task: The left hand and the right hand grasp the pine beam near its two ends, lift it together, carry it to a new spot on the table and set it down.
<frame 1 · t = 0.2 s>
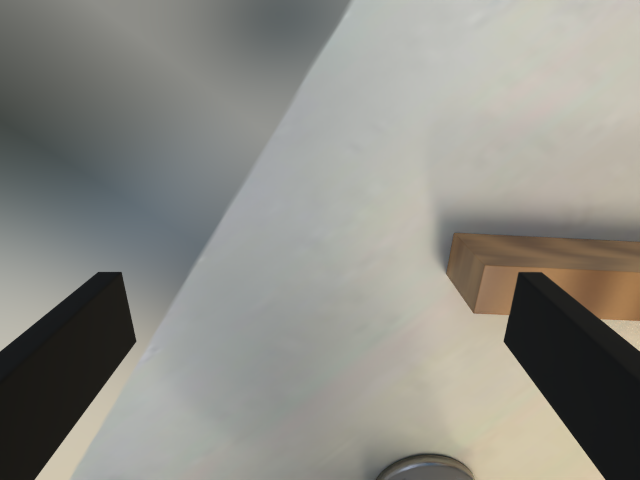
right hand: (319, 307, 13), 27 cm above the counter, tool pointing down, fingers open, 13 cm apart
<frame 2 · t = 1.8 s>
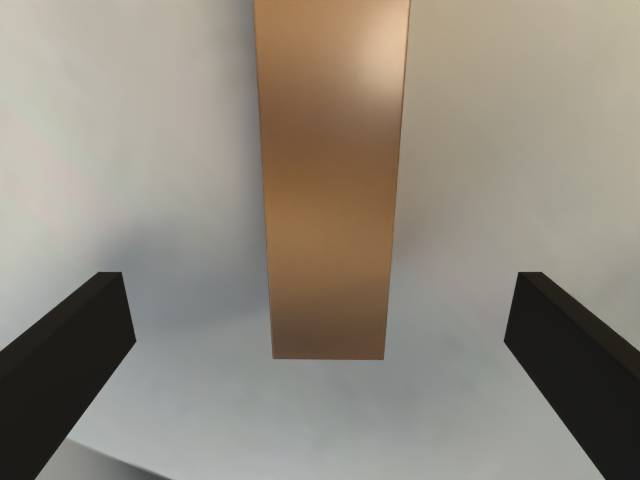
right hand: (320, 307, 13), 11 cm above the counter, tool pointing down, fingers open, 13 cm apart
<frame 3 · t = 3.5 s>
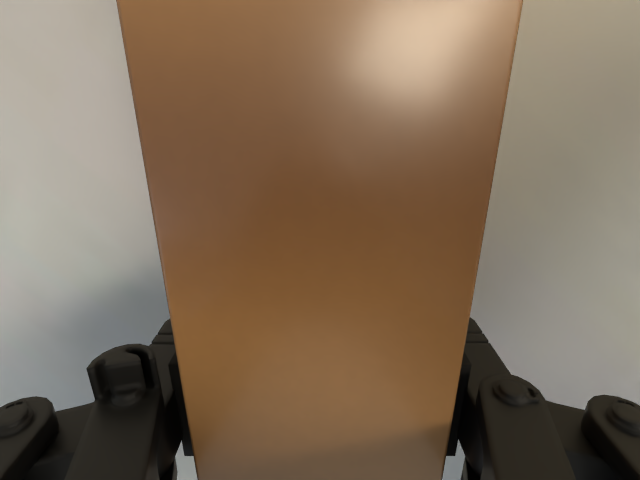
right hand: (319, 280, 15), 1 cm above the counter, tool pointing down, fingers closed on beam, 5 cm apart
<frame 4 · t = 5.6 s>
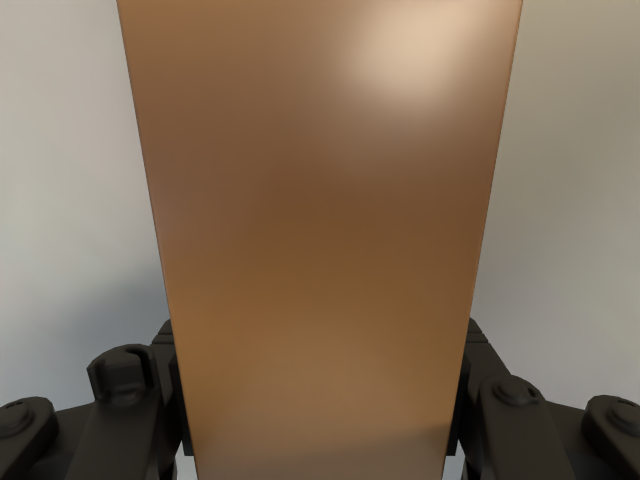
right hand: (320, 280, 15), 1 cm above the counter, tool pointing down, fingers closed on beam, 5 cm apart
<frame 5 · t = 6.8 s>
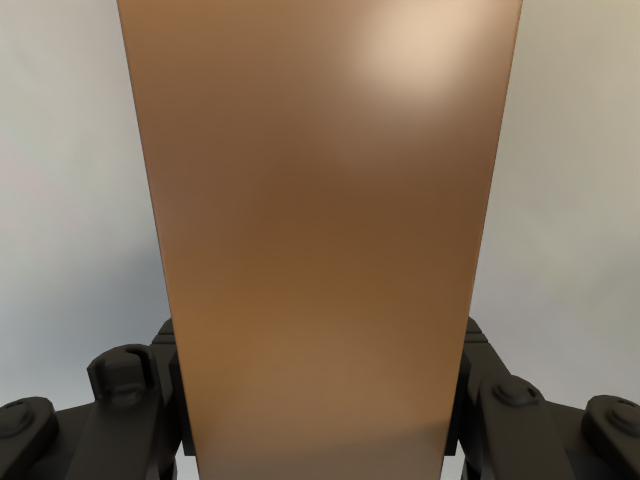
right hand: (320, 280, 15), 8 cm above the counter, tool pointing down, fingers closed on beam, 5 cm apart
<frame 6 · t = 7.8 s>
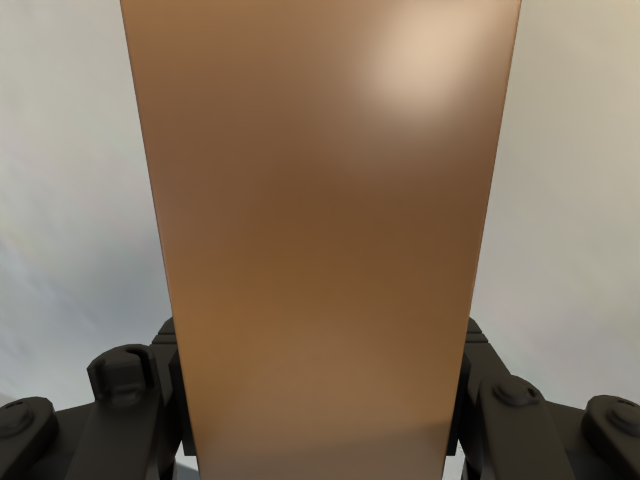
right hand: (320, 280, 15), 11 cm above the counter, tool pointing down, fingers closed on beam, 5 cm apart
when the right hand's fingers open (2 cm above the counter, at t = 10.2 s): beam drops 2 cm, on the counter.
when the left hand's fingers open (5 cm above the counter, at t = 10.4 s): beam stays where it is, on the counter.
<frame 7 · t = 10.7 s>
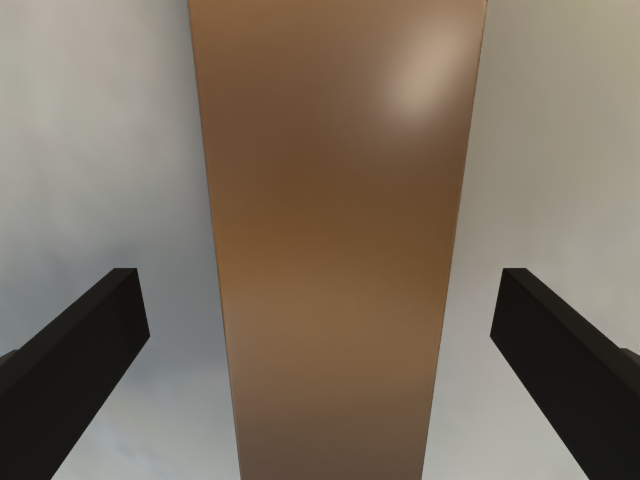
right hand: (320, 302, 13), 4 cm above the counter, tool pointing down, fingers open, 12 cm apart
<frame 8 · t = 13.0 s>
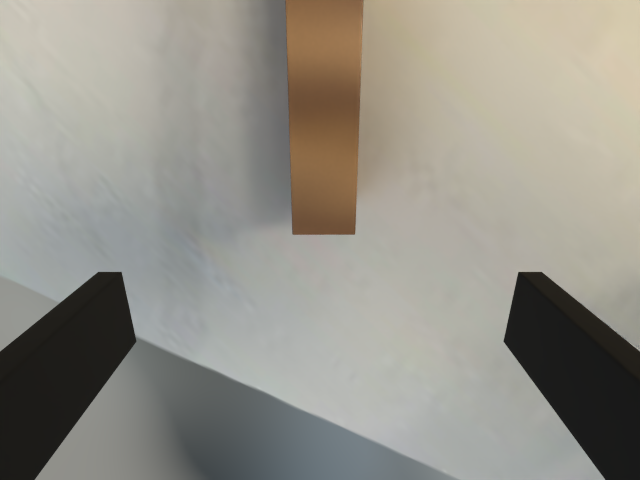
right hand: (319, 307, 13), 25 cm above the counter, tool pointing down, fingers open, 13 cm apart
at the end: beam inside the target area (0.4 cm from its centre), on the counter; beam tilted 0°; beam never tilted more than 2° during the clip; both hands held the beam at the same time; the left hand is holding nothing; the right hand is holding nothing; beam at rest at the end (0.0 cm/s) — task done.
